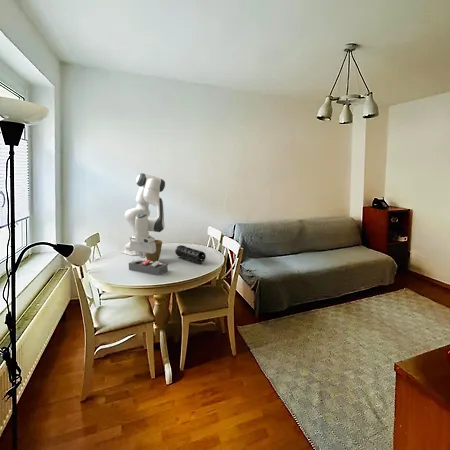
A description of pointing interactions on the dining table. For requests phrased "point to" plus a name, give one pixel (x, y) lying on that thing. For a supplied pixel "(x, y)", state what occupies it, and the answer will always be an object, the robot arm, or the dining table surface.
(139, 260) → the left rocker
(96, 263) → the dining table surface
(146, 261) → the middle rocker
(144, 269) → the switch strip
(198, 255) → the muzzle brake
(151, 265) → the right rocker
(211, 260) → the dining table surface
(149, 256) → the plant pot
